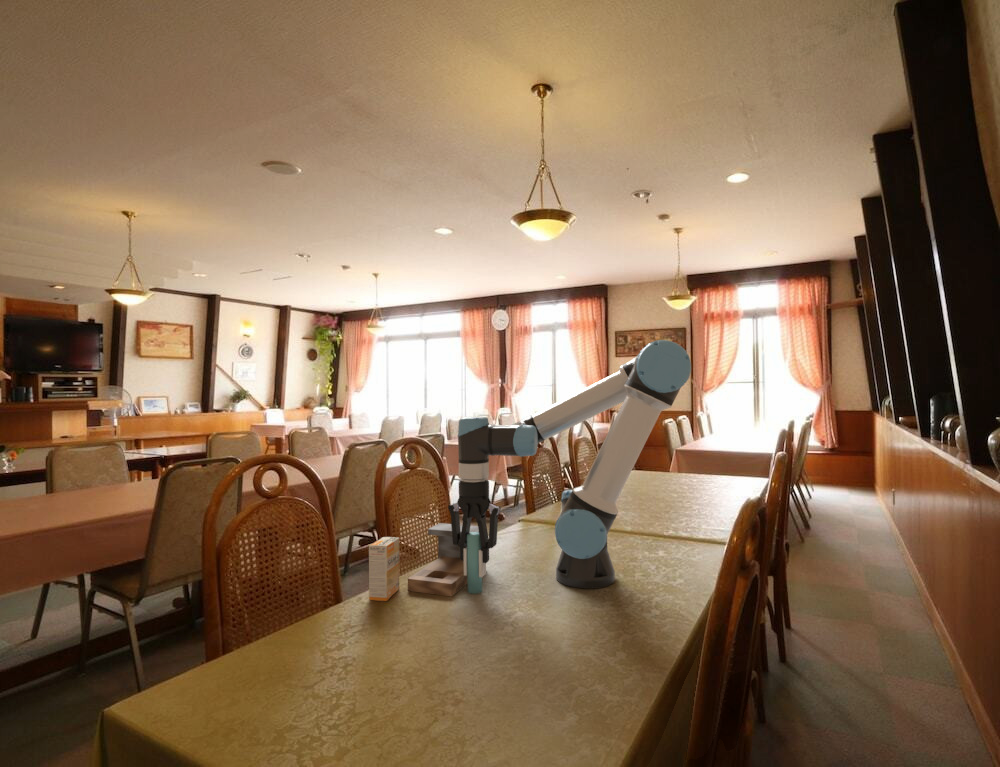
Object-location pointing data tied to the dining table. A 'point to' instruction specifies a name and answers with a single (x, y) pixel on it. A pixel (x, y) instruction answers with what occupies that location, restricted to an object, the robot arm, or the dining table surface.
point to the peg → (473, 563)
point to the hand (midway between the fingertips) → (474, 574)
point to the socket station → (442, 566)
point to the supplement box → (383, 568)
